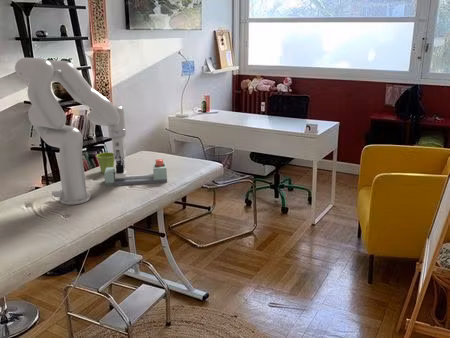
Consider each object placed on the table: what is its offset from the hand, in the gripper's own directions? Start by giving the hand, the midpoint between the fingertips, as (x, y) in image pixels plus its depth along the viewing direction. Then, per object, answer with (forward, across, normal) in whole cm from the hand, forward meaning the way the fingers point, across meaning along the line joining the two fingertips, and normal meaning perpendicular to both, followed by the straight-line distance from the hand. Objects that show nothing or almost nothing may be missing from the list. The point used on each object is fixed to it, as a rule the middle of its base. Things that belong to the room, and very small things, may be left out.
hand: (120, 170), depth 207 cm
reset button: (-1, 0, -18) cm, 18 cm away
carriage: (+3, 0, 0) cm, 3 cm away
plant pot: (+6, +17, +8) cm, 20 cm away
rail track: (+6, 0, -7) cm, 9 cm away
